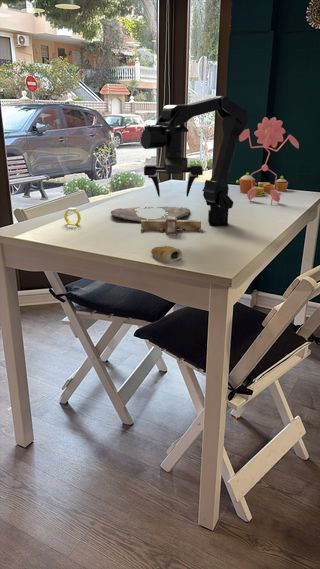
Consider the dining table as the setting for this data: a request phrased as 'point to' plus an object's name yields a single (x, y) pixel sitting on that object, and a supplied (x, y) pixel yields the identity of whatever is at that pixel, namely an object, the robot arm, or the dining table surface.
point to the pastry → (167, 254)
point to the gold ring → (75, 212)
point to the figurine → (268, 136)
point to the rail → (162, 225)
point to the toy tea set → (261, 185)
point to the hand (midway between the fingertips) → (173, 196)
